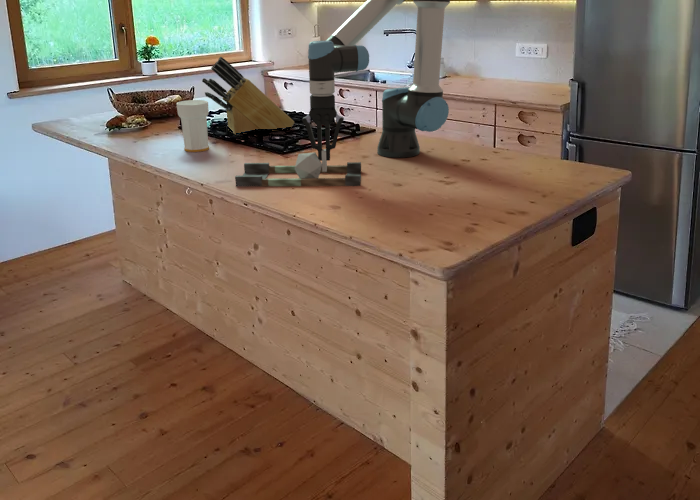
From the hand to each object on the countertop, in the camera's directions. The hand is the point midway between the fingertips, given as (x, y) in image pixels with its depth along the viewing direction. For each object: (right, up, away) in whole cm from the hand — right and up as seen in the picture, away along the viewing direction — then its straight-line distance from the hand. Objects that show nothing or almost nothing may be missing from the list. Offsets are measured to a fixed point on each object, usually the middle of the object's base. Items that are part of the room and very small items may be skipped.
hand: (324, 170), depth 218 cm
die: (-5, -3, +1) cm, 6 cm away
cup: (-49, +13, +42) cm, 66 cm away
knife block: (-33, +24, +71) cm, 82 cm away
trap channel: (-8, -2, +2) cm, 8 cm away
